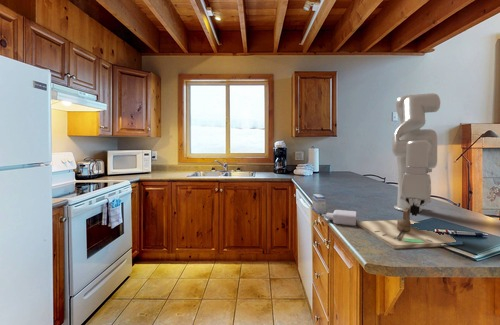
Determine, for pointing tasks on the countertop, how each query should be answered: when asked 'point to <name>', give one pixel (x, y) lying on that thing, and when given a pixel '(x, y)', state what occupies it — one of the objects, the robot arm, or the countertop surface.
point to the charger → (342, 217)
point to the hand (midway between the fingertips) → (414, 214)
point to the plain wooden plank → (404, 222)
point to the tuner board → (404, 235)
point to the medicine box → (318, 204)
